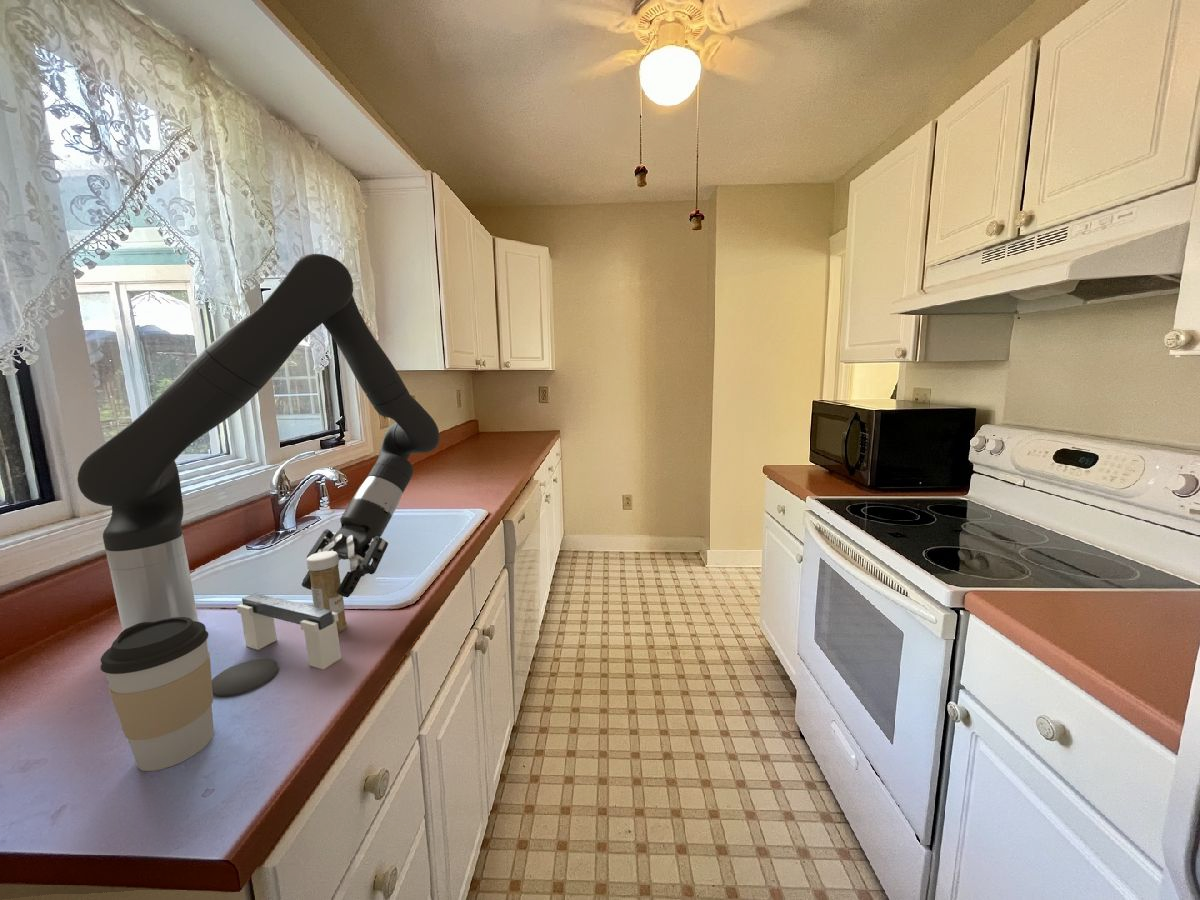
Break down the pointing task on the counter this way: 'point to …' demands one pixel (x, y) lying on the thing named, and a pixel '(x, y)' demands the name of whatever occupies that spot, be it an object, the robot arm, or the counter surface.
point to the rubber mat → (244, 677)
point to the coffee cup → (162, 690)
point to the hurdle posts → (318, 642)
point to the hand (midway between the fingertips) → (324, 591)
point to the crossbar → (288, 610)
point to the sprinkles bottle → (327, 584)
